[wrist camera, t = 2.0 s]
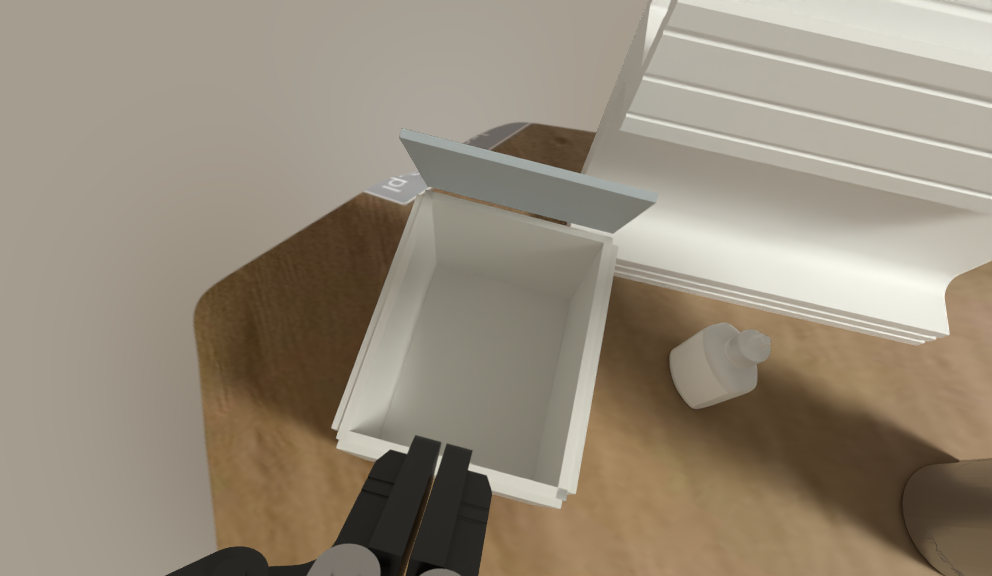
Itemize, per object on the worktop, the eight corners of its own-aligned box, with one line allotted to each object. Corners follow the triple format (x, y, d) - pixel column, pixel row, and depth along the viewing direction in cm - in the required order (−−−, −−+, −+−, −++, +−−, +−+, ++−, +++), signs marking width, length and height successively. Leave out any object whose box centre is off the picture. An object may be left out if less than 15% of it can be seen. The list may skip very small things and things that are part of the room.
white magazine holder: (908, 271, 51) (1365, 44, 26) (916, 345, 48) (1446, 173, 22) (572, 194, 52) (688, -104, 26) (559, 263, 49) (677, 1, 23)
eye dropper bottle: (661, 401, 44) (730, 370, 33) (670, 342, 47) (737, 294, 35) (710, 415, 44) (795, 388, 33) (716, 355, 46) (798, 311, 35)
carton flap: (427, 186, 36) (429, 179, 36) (613, 233, 36) (614, 227, 36) (399, 137, 26) (401, 128, 26) (656, 202, 26) (658, 193, 26)
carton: (427, 259, 48) (419, 188, 37) (581, 299, 47) (620, 239, 36) (359, 458, 41) (324, 444, 30) (540, 507, 40) (572, 512, 29)
